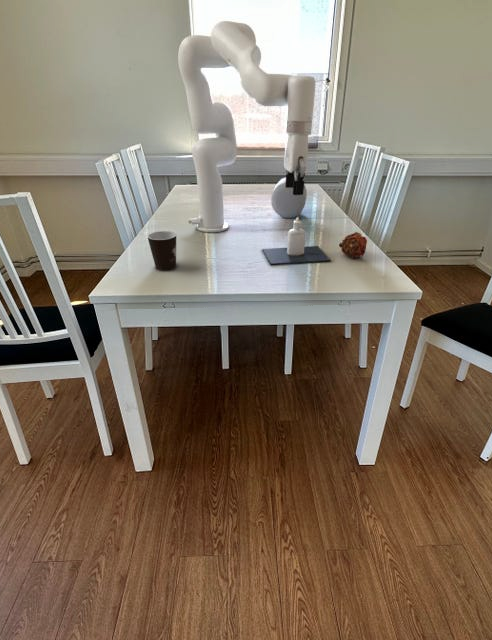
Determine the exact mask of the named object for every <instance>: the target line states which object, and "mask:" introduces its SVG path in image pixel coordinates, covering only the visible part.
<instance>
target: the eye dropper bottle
mask: <svg viewBox="0 0 492 640" xmlns="http://www.w3.org/2000/svg"><path fill="white" fill-rule="evenodd" d="M295 218H296V219H295V220H294V221H293V223H292V224H293V226H292V229H290V230H289V231H288V232H287V243H286V248H287V254H288V255H290V256H298V255H302V254H304V247H305V244H306V243H305V242H306V231H305V230H304V229H302V221H301V220H300V217H299V216H298V217H297V216H296V217H295Z"/></svg>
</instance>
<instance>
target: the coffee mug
mask: <svg viewBox="0 0 492 640" xmlns="http://www.w3.org/2000/svg"><path fill="white" fill-rule="evenodd" d="M146 237H147V241H148V245H149V248H150V251H151V256H152V260H153V263H154V267H155V269H156V270H157V271H159V272H168V271H172V270H175V269H176V268H177V233H176V232H174V231H170V230H159V231H154V232H151V233H148V234H147V236H146Z"/></svg>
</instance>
